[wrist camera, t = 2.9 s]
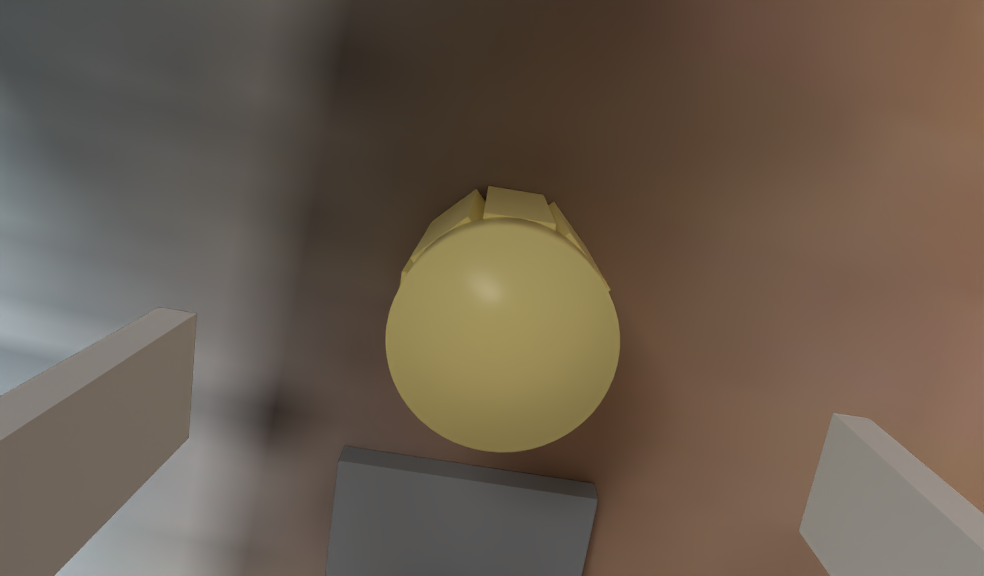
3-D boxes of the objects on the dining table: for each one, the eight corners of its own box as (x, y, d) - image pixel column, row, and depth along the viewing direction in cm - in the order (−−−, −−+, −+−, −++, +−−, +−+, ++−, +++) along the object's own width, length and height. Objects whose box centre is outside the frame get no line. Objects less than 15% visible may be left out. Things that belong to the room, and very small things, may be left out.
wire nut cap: (433, 177, 26) (400, 211, 18) (598, 203, 26) (642, 249, 18) (411, 334, 27) (372, 434, 19) (567, 358, 28) (595, 467, 19)
